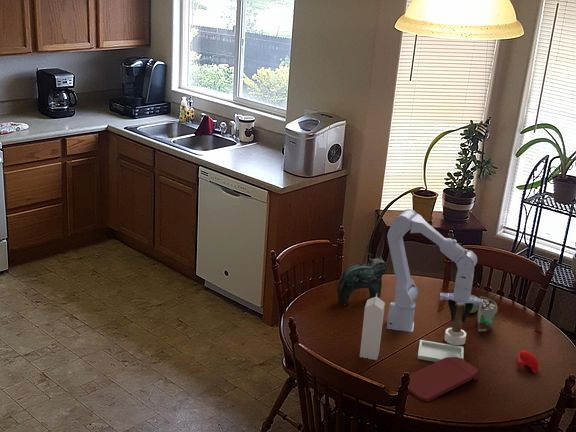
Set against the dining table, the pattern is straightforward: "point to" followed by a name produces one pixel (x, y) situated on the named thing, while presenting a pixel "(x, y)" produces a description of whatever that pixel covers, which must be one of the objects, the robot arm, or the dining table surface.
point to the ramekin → (473, 306)
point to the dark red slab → (441, 377)
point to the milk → (372, 328)
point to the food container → (486, 314)
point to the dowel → (458, 317)
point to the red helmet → (527, 360)
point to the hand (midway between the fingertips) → (457, 320)
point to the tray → (438, 351)
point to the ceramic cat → (361, 279)
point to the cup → (455, 337)
